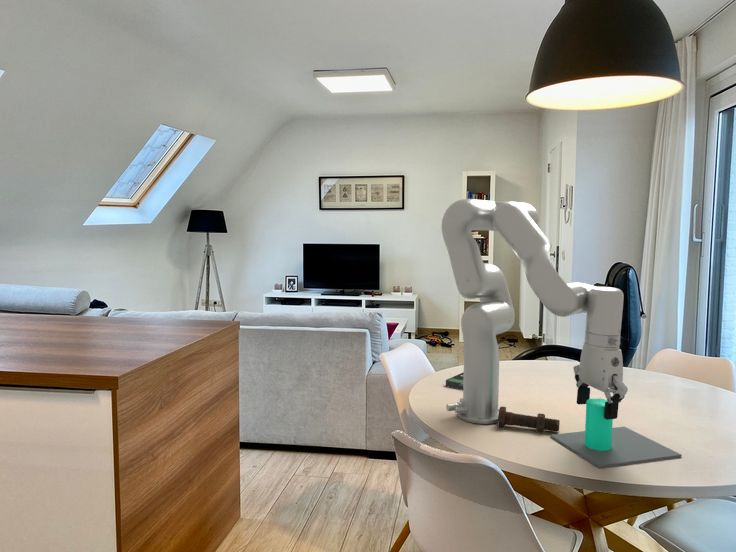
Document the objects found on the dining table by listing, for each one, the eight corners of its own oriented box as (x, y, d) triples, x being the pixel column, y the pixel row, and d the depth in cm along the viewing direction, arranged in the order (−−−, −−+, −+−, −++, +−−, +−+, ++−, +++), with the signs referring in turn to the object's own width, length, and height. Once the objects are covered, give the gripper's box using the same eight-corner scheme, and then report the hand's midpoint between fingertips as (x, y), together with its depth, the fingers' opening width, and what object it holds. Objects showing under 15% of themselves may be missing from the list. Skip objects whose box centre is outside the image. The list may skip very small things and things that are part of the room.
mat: (599, 468, 116) (599, 465, 116) (550, 437, 133) (550, 434, 133) (681, 457, 122) (681, 454, 122) (624, 428, 139) (624, 426, 139)
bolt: (558, 441, 136) (497, 431, 141) (558, 425, 140) (500, 417, 145) (559, 426, 133) (497, 417, 138) (560, 410, 136) (500, 402, 141)
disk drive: (465, 378, 188) (445, 387, 176) (465, 370, 188) (445, 379, 176) (493, 383, 182) (473, 393, 170) (493, 375, 182) (473, 385, 170)
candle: (588, 438, 131) (590, 390, 130) (614, 444, 127) (617, 395, 126) (580, 446, 126) (582, 396, 125) (607, 453, 123) (609, 402, 122)
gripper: (643, 348, 117) (636, 423, 119) (591, 331, 134) (585, 397, 136) (614, 350, 115) (608, 426, 117) (565, 332, 132) (560, 399, 134)
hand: (596, 410), depth 126 cm, fingers open, 9 cm apart
